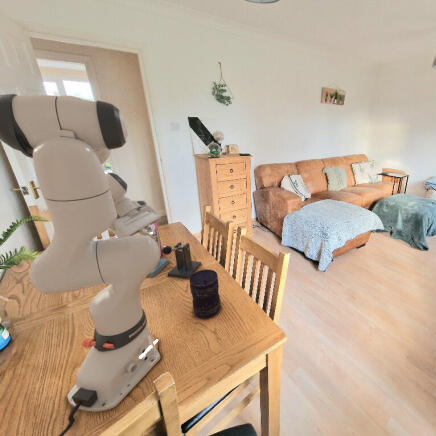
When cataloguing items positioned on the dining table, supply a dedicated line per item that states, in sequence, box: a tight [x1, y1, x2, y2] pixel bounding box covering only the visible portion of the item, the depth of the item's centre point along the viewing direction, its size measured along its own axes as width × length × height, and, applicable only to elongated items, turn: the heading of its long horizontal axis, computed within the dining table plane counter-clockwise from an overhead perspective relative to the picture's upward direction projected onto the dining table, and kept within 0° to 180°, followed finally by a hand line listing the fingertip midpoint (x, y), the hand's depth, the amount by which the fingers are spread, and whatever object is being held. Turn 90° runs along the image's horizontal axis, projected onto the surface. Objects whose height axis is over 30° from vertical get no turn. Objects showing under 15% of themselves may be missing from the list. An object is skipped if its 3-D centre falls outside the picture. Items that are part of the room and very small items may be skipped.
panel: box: [146, 257, 170, 278], centre depth 113 cm, size 12×10×4 cm
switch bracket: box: [167, 241, 202, 280], centre depth 112 cm, size 12×10×14 cm
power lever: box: [161, 244, 185, 255], centre depth 104 cm, size 14×4×4 cm, turn 173°
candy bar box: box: [145, 221, 163, 258], centre depth 123 cm, size 11×5×16 cm, turn 25°
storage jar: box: [188, 269, 221, 320], centre depth 89 cm, size 10×10×15 cm
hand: (153, 236), depth 97 cm, fingers closed
